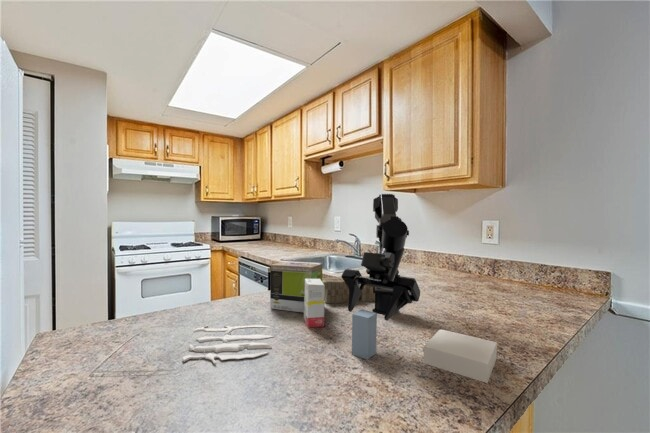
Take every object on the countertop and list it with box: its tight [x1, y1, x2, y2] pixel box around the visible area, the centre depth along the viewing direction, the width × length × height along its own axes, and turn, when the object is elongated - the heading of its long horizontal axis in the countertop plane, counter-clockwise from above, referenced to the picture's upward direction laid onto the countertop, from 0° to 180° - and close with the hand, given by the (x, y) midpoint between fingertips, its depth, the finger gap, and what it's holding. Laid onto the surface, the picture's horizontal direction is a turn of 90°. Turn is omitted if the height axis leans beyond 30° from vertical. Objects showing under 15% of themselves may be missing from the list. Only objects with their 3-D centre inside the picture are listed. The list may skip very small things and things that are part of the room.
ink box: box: [303, 279, 325, 328], centre depth 86 cm, size 9×5×12 cm, turn 10°
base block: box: [422, 328, 498, 384], centre depth 64 cm, size 12×12×4 cm
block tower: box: [322, 275, 377, 304], centre depth 111 cm, size 8×8×29 cm
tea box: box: [269, 260, 323, 313], centre depth 99 cm, size 15×10×15 cm
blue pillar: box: [351, 309, 378, 360], centre depth 67 cm, size 4×4×9 cm
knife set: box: [90, 323, 276, 374], centre depth 71 cm, size 26×35×1 cm
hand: (366, 315), depth 67 cm, fingers open, 9 cm apart
